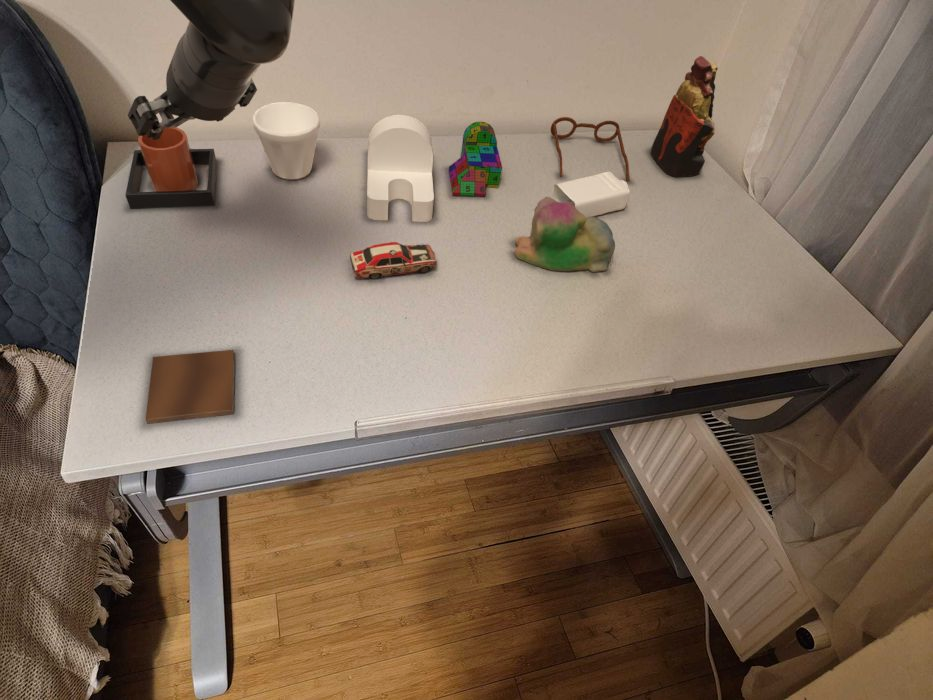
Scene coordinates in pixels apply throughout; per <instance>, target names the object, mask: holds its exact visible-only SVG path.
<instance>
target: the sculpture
mask: <svg viewBox="0 0 933 700" xmlns="http://www.w3.org/2000/svg"><path fill="white" fill-rule="evenodd" d="M533 211H534V213H533V217H532V220H531V228H530V229H531V230H530V236H518V237H517V238H516V239H515V241H514V244H515V246H516V248H515V250H514V256H515V257H516V258H517V259H518V260H520V261H523V262H526V263H528V264H531V265H533V266H536V267H539V268H542V269H544V270H550V271H555V272H556V271H557V272H574V271H585V270H589V271H590V272H592V273H596V272H604V271H607V270H608V264H609V262H610V261H611V260H612V258H613V256H614V253H615V249H616V241H615V240H614V239H615V238H614V235H613V230H612V229H611V227H610V226H609V224H608V223H607V222H606V221H604V220H603V219H601V218H599V217H598V216H593V217H587V218H586V217H585V216H584V215H583V214H582V213H580V212H579V211H578V210H577V209H576V208H575V206H574V205H573V204H572V203H567V202H562V203H561V202H558V201H556V200H554V199H552V198H551V197H549V196H547V197H543V198H541V199H540V200H539V201H538V202H537V204H536V206H535V208H534V210H533Z"/></svg>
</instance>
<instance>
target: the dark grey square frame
mask: <svg viewBox="0 0 933 700" xmlns="http://www.w3.org/2000/svg"><path fill="white" fill-rule="evenodd" d="M190 151H191V155H192V159H193V163H194V166H198V165H200V166H201V165H208V173H207V186H206V187H207V188H206V189H195V190H190V191H159V192H156V191H139V188H140V182H141V177H142V172H143V171H142V170H143V167H146V164H145V161H144V158H143V155H142V151H141V149H134V150H133V156H132V160H131V164H130V165H131V166H130V170H129V175H128V180H127V185H126V190H125V197H126V200H127V203H128V206H129V209H130V210H138V209H141V210H142V209H143V210H144V209H166V208H194V207H196V208H197V207H215V203H216V202H215V201H216V183H217V166H218V165H217V164H218V163H217V156H216V152H215V148H190Z"/></svg>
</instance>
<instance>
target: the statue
mask: <svg viewBox="0 0 933 700" xmlns="http://www.w3.org/2000/svg"><path fill="white" fill-rule="evenodd" d="M718 69H719V67H718V65H717V63H716V62H713V61H709V60H707V58H705V56H702V55H699V56H698V57H696V58H695V59H694V61H693V64H692V65H691V66H690V71H688V72H686V73H685V76H684V80H683V81H682V82H681V84H680V85H679V87H678V88H677V91H676V93H675V94H674V95H673V96H672V98H671V100H670V103H669V105H668V106H667V109H666V112H665V114H664V117H663V120H662V122H661V125H660V128H659V129H658V132H657V134H656V136H655V138H654V141H653V143H652V145H651V149H650V155H651V156H652V158H653V160H654V161H655V162H656V164H657V165H658V166H659V167H660V169H661V170H662V171H663V172H664V173H665V174H667V175H669V176H671V177H675V178H682V177H694V176H697V175H698V174H700V172H701V170H702V169H703V166H704V165H705V163H706V159H705V157H704V155H703V154H704V151H705V147H706V145H707V143H708V141H710V140H711V139H712V137H713V136H714V135H715V133H716V130H715V122H713V120H712V118H713V111H714V100H715V90H716V84H715V82H716V81H715V80H716V77H717V72H718Z"/></svg>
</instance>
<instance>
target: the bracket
mask: <svg viewBox="0 0 933 700" xmlns="http://www.w3.org/2000/svg"><path fill="white" fill-rule="evenodd" d="M432 142H433V141H432V136H431V134H430V131H429V130H428V129H427V127H426V125H424V124H423V123H422V122H421V121H420V120H419V119H417V118H415V117H412V116H410V115H406V114H392V115H388V116H386V117H384V118H382V119H380V120H379V121H377V122H376V124H374V126H373V127H372V128H371V130H370V132H369V134H368V140H367V185H366V186H367V187H366V215H367V217H368V219H370V220H373V221H389V203H390V202H391V201H394V200H404V201H406V202H408V203H409V204H410V206H411V221H412V222H415V223H417V222H419V223H427V222H430V221H432V219H433V213H434V212H433V210H434V200H435V193H434V182H433V164H434V155H433V154H434V153H433V143H432Z"/></svg>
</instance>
